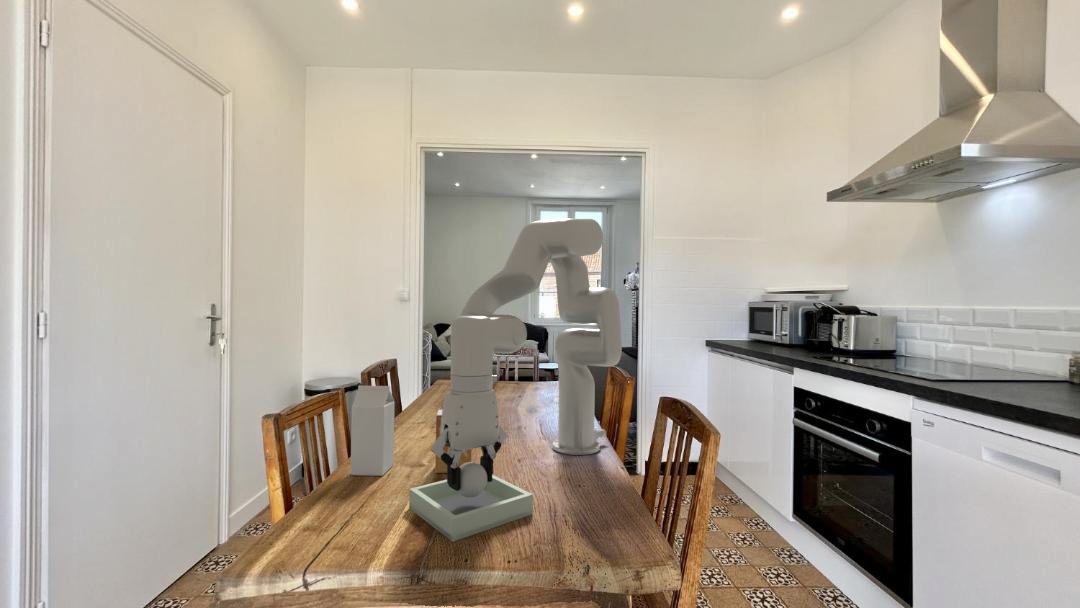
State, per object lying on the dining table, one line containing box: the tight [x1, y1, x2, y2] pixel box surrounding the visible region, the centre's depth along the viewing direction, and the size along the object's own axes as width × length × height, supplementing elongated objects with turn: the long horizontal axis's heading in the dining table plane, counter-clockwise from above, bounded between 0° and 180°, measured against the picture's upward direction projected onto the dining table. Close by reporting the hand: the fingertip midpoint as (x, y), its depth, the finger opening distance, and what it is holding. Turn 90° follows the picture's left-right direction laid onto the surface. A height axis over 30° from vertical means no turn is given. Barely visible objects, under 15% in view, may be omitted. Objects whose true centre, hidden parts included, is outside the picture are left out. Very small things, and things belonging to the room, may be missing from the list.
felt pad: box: [436, 492, 499, 515], centre depth 84 cm, size 10×10×1 cm
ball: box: [457, 461, 487, 497], centre depth 84 cm, size 6×6×6 cm
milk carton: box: [350, 385, 395, 477], centre depth 105 cm, size 7×7×19 cm
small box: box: [434, 409, 473, 474], centre depth 107 cm, size 8×6×13 cm
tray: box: [408, 474, 534, 543], centre depth 84 cm, size 16×16×4 cm
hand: (470, 483), depth 84 cm, fingers closed on ball, 5 cm apart
